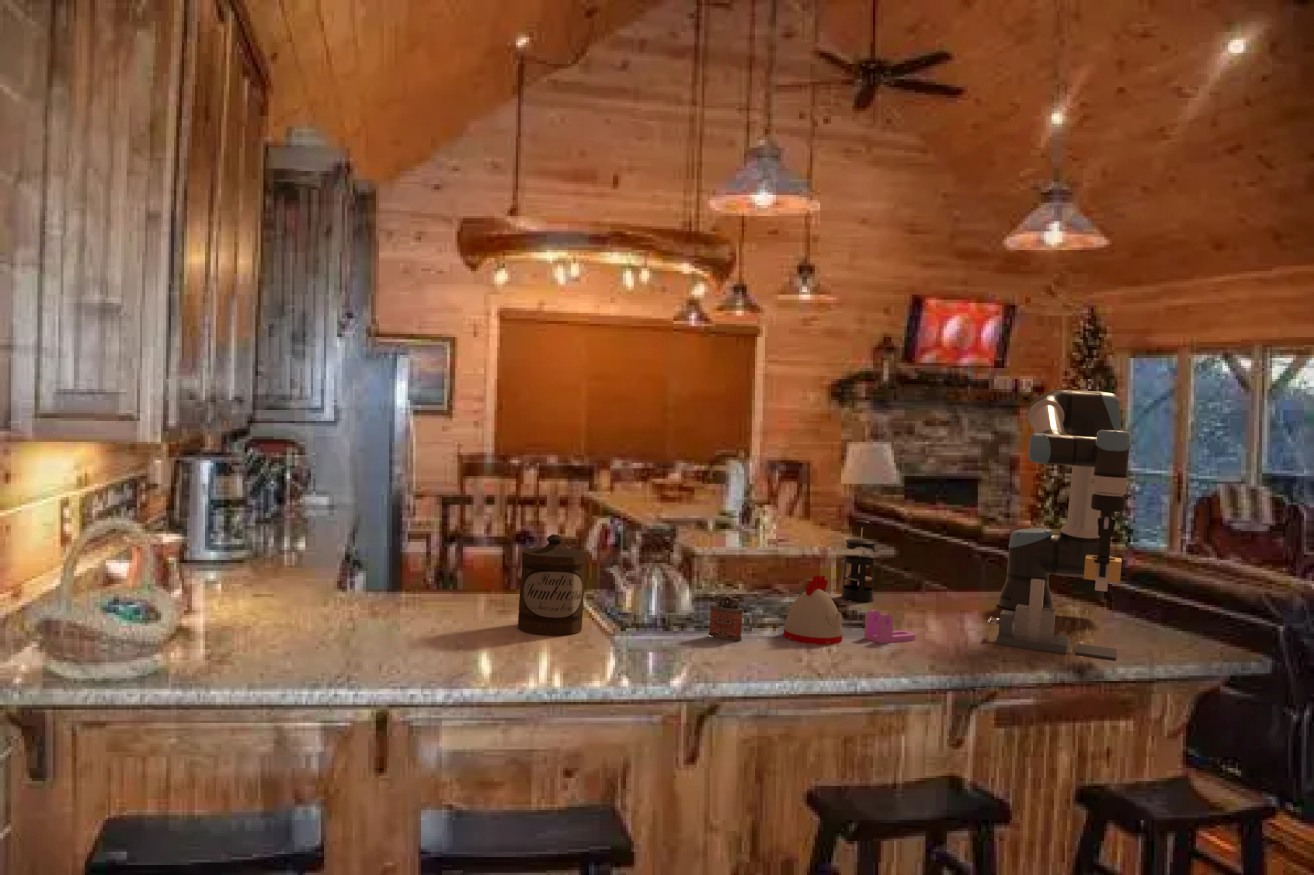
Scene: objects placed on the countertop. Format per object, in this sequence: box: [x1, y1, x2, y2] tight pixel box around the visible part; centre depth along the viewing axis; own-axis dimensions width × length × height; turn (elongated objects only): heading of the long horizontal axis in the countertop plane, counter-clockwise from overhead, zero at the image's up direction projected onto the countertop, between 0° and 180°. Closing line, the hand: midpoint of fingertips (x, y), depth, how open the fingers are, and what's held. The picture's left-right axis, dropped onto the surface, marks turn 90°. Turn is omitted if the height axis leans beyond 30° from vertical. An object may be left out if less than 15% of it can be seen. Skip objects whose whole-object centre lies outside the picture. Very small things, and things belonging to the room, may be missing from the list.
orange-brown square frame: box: [1083, 555, 1123, 584], centre depth 263 cm, size 8×8×5 cm
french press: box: [840, 519, 878, 603], centre depth 317 cm, size 12×9×23 cm
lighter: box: [708, 594, 744, 643], centre depth 254 cm, size 8×3×10 cm, turn 65°
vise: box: [986, 579, 1070, 655], centre depth 270 cm, size 12×19×16 cm, turn 67°
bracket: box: [863, 609, 916, 644], centre depth 266 cm, size 13×6×7 cm, turn 121°
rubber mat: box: [1075, 643, 1117, 661], centre depth 264 cm, size 11×9×1 cm
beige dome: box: [783, 575, 843, 646], centre depth 261 cm, size 14×14×15 cm
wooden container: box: [517, 533, 586, 637], centre depth 253 cm, size 15×15×22 cm
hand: (1101, 588), depth 263 cm, fingers closed on orange-brown square frame, 8 cm apart
